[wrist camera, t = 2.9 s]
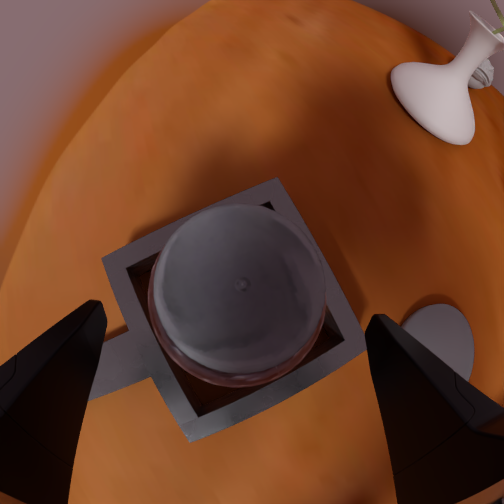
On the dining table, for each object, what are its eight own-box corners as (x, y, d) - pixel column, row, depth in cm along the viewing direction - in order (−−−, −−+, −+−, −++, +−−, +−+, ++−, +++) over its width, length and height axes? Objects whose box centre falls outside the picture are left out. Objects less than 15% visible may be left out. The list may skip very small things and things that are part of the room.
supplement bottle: (243, 243, 18) (268, 128, 7) (301, 319, 17) (409, 303, 6) (165, 298, 17) (74, 252, 6) (223, 377, 16) (218, 460, 5)
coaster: (407, 440, 15) (412, 442, 15) (366, 348, 17) (372, 349, 16) (477, 370, 17) (483, 371, 16) (446, 283, 19) (452, 282, 18)
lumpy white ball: (448, 79, 27) (471, 49, 20) (449, 63, 29) (469, 37, 22) (479, 106, 27) (504, 79, 20) (477, 87, 28) (498, 62, 22)
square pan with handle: (99, 458, 13) (85, 471, 11) (33, 312, 16) (12, 309, 13) (352, 344, 17) (370, 346, 15) (271, 194, 19) (277, 177, 17)
